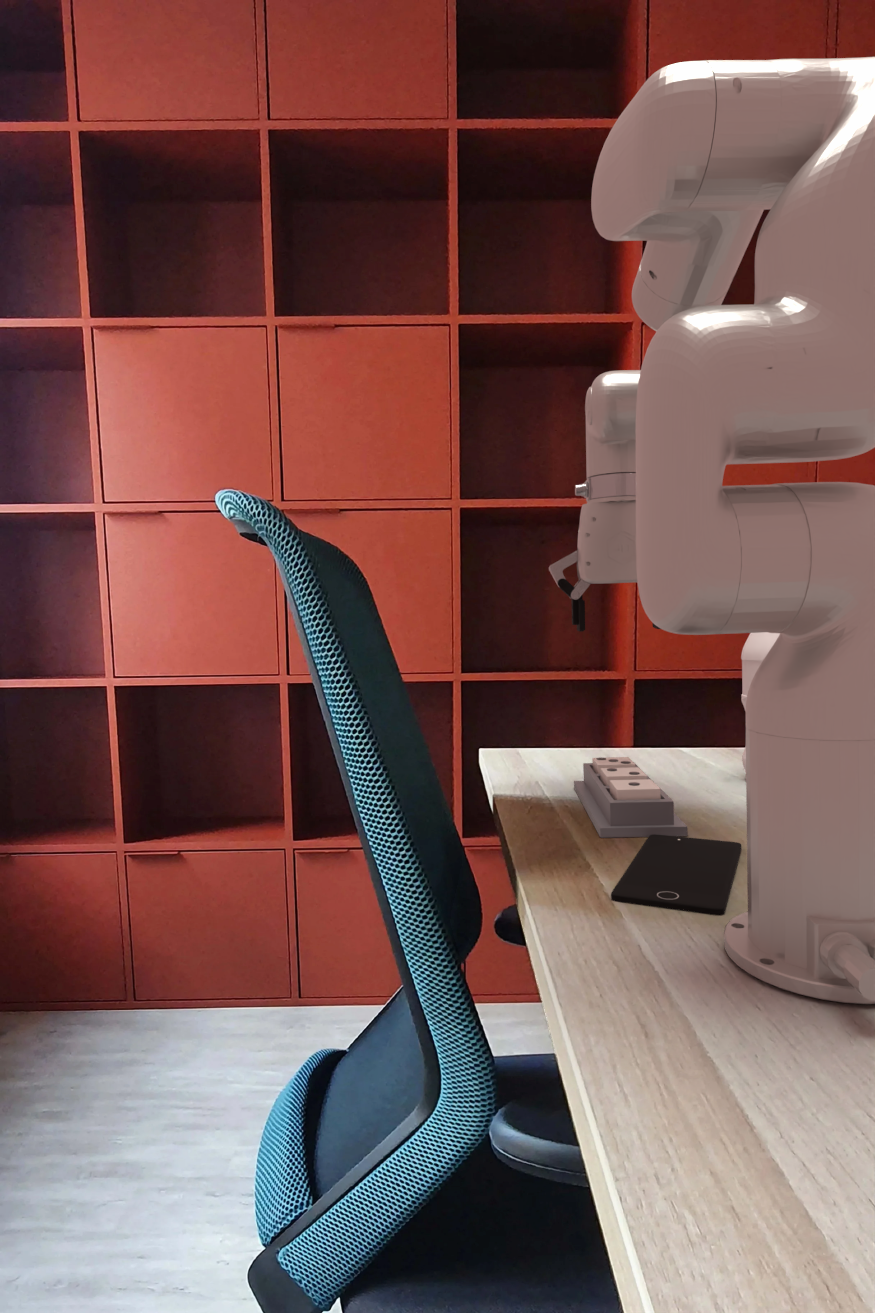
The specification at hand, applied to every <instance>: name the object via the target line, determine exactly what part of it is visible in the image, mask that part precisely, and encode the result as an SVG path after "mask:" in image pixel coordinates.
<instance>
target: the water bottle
mask: <svg viewBox="0 0 875 1313" xmlns="http://www.w3.org/2000/svg"><path fill="white" fill-rule="evenodd" d="M779 635H780V633H769V632H760V633H749V635H748V637H747V639H746V641H745V643H744V645H743V647H742V650H741V656H740V659H741V679H742V681H741V682H742V685H741V686H742V691H741V692H742V694H740V695H741V696H740V697H741V704H742V705H743V708H744V711H745V713H746V700H747V694H748V691H749V688H750V684H751V682H752V679H753V677H754V675H755V673H756V671H757V670H758V668H759V666H760V665H761V663H762V661H763V660H764V658H765V657H766V655H767V654H768V652H769V651H770V649H771V648H772V646H773V645H774V643H775V641H776V640H777V638H778V637H779ZM741 757H742V758H741V759H742V760H741V762H742V765H743V769H744V770H745V772H746V745H745V747H744V750H743V752H742V755H741Z"/></svg>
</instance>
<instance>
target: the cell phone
mask: <svg viewBox="0 0 875 1313" xmlns="http://www.w3.org/2000/svg"><path fill="white" fill-rule="evenodd" d="M742 845H743V844H742V843H741V842H735V841H727V840H717V839H710V838H709V839H708V838H699V837H698V838H697V837H689V836H668V835H656V834H653V835H650V836H649V837H647V838H646V840H645V841H644V843H643V845H642V846H641V848H640V849H639V851H638V852H637V854H636V855H635V857H634V858H633V860H632V861H631V863H630V864H629V865H628V867H627V869H626V870H625V871H624V873H623V875H622V876H621V878H620V879H619V881H617V883H616V885H615V886H614V888H613V889H612V891H611V893H610V899H611V901H613V902H618V903H623V904H629V905H630V904H631V905H638V906H639V905H640V906H644V907H645V906H646V907H652V908H653V907H654V908H660V909H668V910H673V911H674V910H675V911H676V910H677V911H681V912H683V911H684V912H689V913H696V914H697V913H698V914H706V915H710V916H711V915H713V916H723V915H725V913H726V910H727V905H728V902H729V899H730V895H731V892H732V891H731V890H732V887H733V883H734V879H735V877H736V876H735V875H736V873H737V868H738V865H739V861H740V857H741V854H742V848H743V846H742Z"/></svg>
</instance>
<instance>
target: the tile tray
mask: <svg viewBox="0 0 875 1313" xmlns="http://www.w3.org/2000/svg"><path fill="white" fill-rule="evenodd" d="M582 765H583V766H582V767H583V770H582V771H583V773H582V774H583V780H574V781H573V789H574V791H575V792H576V794H577V797H578V798H579V800H580V802H581V804H582V806H583V808H584V810H585V812H586V813H587V816H588V817H589V819H590V821H591V823H592V825H593V826H594V828H595V830H596V833H597V834H598V836H599V838H601V839H602V838H603V839H604V838H606V839H608V838H646V837H647V838H648V837H649V836H650V835H653V834H656V835H668V836H678V837H689V836H688V835H689V834H688V825H687V824H686V823H685V822H684V821H683V820H682V819H681V818H680V817H679V816H678V815H677V814H676V813H675V811H674V810H675V804H674V802H675V801H674V800H673V799H672V798H671V797H670V796H669V795H668V794H667V793H665V791H663V789H662V788H660V796H661V799H641V800H614V799H613V798H612V797H611V795H610V786H604V785H603V784H602V782H601V775H600V774H595V773H594V771H593V762H587V763H586V762H584V763H582ZM635 767H639V766H638V764H636V763H635ZM647 779H651V778H650V777H649V775H647Z"/></svg>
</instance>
